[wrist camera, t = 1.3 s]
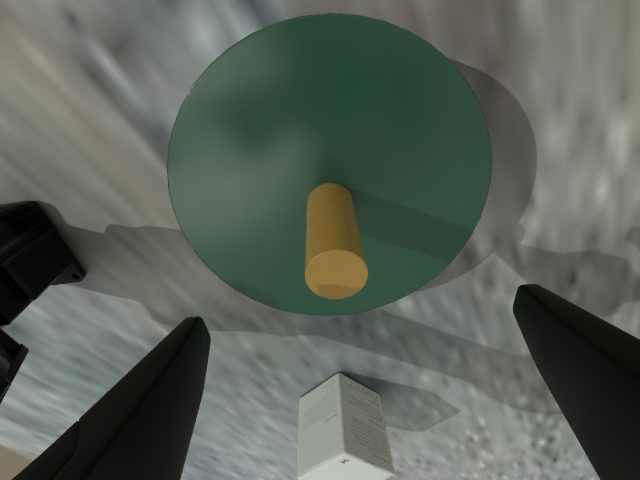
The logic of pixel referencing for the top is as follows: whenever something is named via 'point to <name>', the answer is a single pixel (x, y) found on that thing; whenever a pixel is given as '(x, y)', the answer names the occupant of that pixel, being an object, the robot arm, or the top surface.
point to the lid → (329, 164)
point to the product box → (342, 433)
